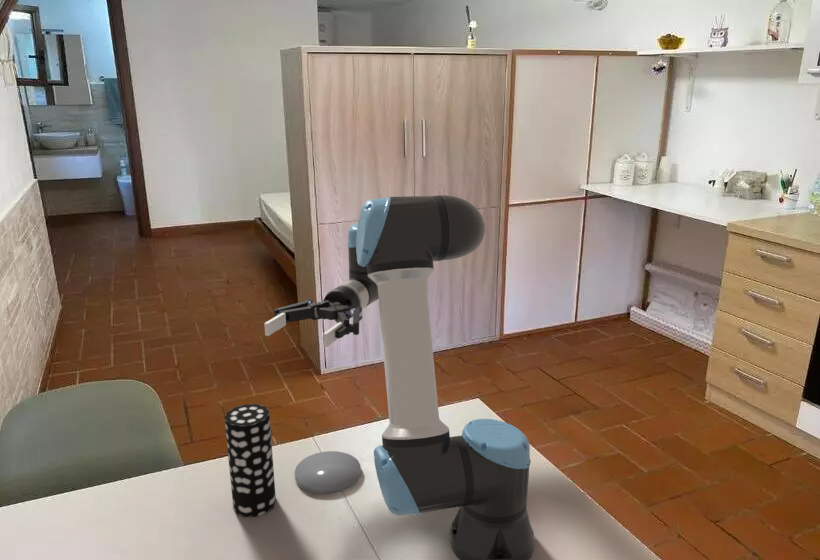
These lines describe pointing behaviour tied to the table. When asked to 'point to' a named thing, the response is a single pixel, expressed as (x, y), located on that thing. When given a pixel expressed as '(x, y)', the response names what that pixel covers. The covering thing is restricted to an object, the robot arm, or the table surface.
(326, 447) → the table surface
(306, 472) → the dish
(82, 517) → the table surface
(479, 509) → the robot arm
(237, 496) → the white-spotted black cylinder
